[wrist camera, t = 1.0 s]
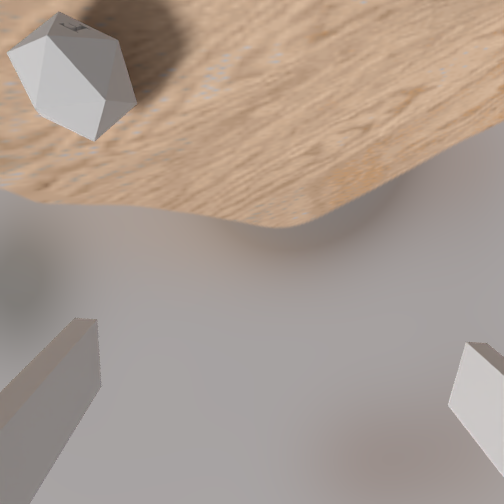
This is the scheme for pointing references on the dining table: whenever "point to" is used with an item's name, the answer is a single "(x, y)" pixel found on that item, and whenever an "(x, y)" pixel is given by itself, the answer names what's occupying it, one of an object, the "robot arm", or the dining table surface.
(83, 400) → the robot arm
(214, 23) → the dining table surface
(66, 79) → the die
